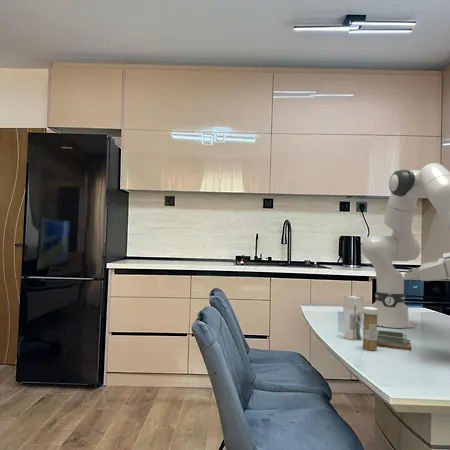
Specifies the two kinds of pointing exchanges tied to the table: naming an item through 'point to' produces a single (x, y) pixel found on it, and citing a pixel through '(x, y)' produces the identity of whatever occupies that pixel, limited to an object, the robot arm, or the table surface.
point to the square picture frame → (393, 340)
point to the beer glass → (352, 317)
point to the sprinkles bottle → (370, 328)
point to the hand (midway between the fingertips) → (405, 274)
